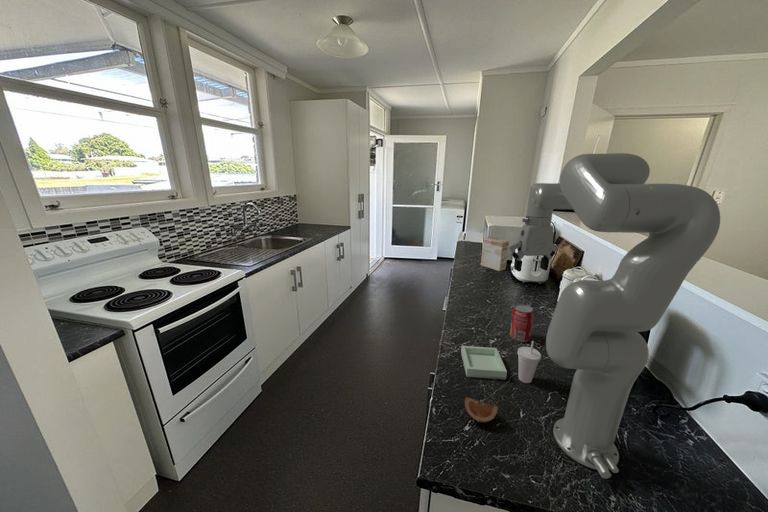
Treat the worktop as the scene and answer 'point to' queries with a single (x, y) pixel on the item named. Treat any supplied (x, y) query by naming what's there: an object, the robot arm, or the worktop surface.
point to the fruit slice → (480, 410)
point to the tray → (483, 362)
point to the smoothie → (527, 363)
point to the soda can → (521, 323)
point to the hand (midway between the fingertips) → (530, 269)
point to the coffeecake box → (494, 253)
